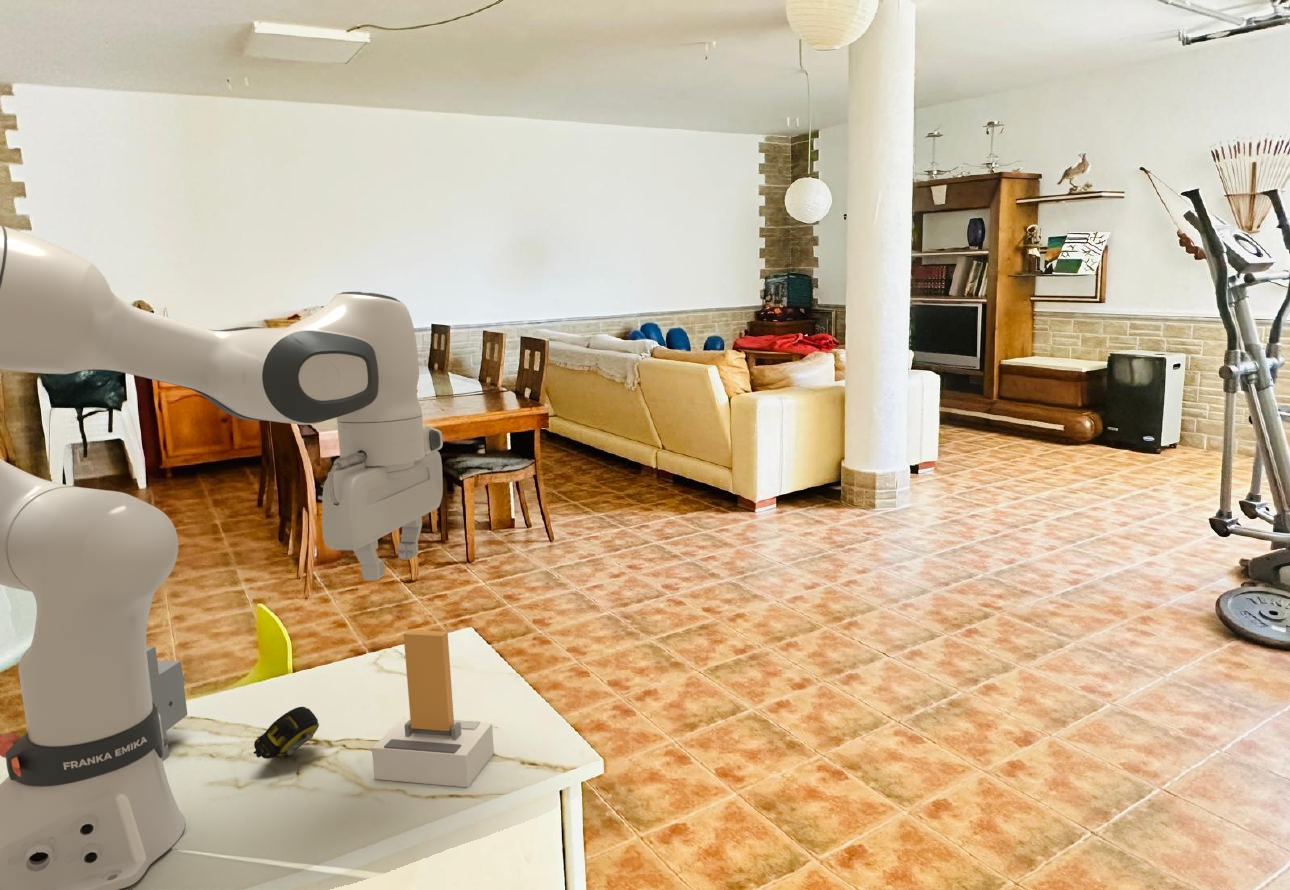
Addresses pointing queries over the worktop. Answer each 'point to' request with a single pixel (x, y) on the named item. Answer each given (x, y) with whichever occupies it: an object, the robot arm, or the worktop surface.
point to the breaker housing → (433, 754)
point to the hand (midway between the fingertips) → (392, 567)
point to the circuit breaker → (166, 692)
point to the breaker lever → (429, 682)
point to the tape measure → (287, 734)
